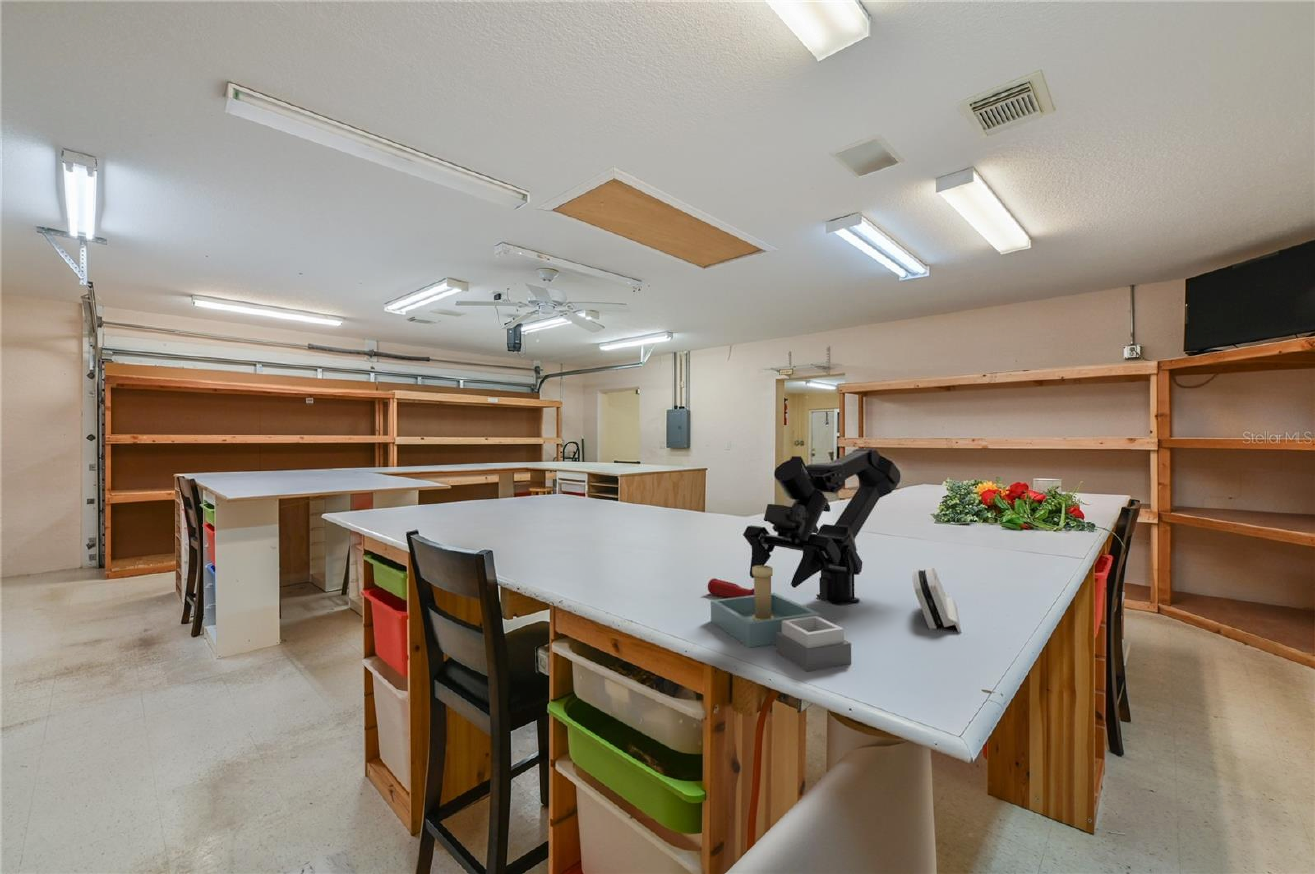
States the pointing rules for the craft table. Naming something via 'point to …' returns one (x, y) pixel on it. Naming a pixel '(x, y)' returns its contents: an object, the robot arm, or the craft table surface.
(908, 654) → the craft table surface
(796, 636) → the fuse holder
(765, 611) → the cylinder
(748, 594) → the red tapered rod
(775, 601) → the parts tray
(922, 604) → the whiteboard eraser
